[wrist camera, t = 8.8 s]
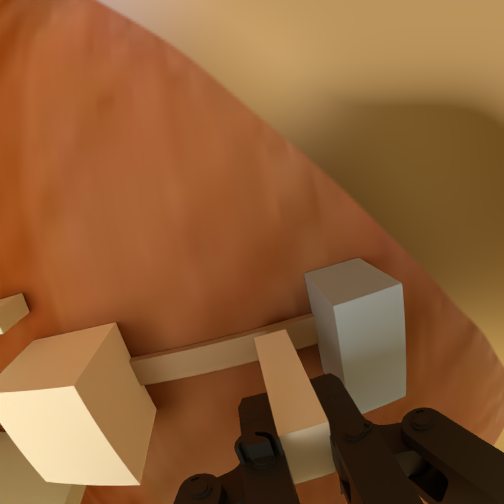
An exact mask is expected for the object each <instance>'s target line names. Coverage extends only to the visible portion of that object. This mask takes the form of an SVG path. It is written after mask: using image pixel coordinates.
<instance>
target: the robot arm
mask: <svg viewBox="0 0 504 504" xmlns="http://www.w3.org/2000/svg"><path fill="white" fill-rule="evenodd" d="M254 340H255V345H256V349H257V353H258V357H259V361H260V365H261V369H262V373H263V378H264V382H265V386H266V390H267V392H266V393H262V394H259V395H254V396H250V397H246V398H243V399H242V401H241V403H240V405H239V407H238V409H239V417H240V425H241V426H240V427H241V436H240V437H239V438H238V440H237V441H236V442H235V447H234V449H235V452H236V454H237V456H238V458H239V460H240V464H239V465H238V466H237V467H236V468H235V469H234V470H232V471H230V472H228V473H226V474H224V475H222V476H219V477H215V476H214V475H211V474H206V473H204V474H196V475H194V476H191V477H189V478H188V479H186V480H185V481H184V482H183V483H182V485H181V486H180V488H179V491H178V493H177V496H176V498H175V501H174V504H300V503H299V499H298V496H297V492H296V489H295V486H294V484H297V483H301V482H305V481H308V480H312V479H315V478H318V477H322V476H325V475H328V474H331V473H334V472H336V470H337V472H338V474H339V479H340V488H341V494H344V495H345V497H346V500H347V502H348V504H423V502H422V500H421V499H420V497H421V498H423V499H424V500H425V501H426V502H427V503H428V504H504V453H503V452H502V451H500V450H499V449H497V448H495V447H494V446H492V445H490V444H489V443H487V442H486V441H484V440H482V439H481V438H479V437H478V436H476V435H474V434H473V433H471V432H470V431H468V430H466V429H465V428H463V427H462V426H460V425H458V424H457V423H455V422H454V421H452V420H451V419H449V418H447V417H446V416H444V415H443V414H441V413H440V412H438V411H436V410H434V409H431V408H418V409H414V410H412V411H410V412H408V413H407V414H406V415H405V416H404V417H403V420H402V422H401V423H396V424H390V425H376V424H373V423H372V422H371V421H369V420H366V419H365V418H364V417H363V416H362V414H361V412H360V411H359V409H358V407H357V406H356V404H355V403H354V401H353V399H352V398H351V396H350V394H349V393H348V391H347V390H346V388H345V387H344V385H343V383H342V381H341V380H340V378H338V377H337V376H335V375H333V374H331V373H329V374H325V375H322V376H319V377H316V378H313V379H310V380H309V378H308V376H307V374H306V372H305V370H304V368H303V366H302V363H301V361H300V359H299V357H298V355H297V353H296V350H295V348H294V346H293V344H292V342H291V340H290V338H289V335H288V333H287V331H286V329H284V330H280V331H277V332H273V333H269V334H266V335H262V336H258V337H254ZM335 467H336V469H335ZM419 496H420V497H419Z"/></svg>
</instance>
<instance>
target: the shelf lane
mask: <svg viewBox="0 0 504 504" xmlns="http://www.w3.org/2000/svg"><path fill="white" fill-rule="evenodd" d="M28 313H30V312H29V309H28V307H27V304H26V301H25V299H24V296H23V294H22V293H20V294H17V295H14V296H10V297H7V298H4V299H0V334H3V333H5V332H6V331H7V330H8V329H9V328H11V327H12V326H13V325H14V324H16V323H17V322H18V321H19V320H21V319H22V318H23V317H24V316H26V315H27V314H28ZM85 488H86V485H79V484H64V483H53V482H46V481H45V480H44V479H43V478H42V476H41V475H40V474H39V473H38V472H37V471H36V469H35V468H34V467H33V466H32V465H31V463H30V462H29V461H28V460H27V459H26V457H25V456H24V455H23V453H22V452H21V451H20V450H19V448H18V447H17V446H16V444H15V443H14V442H13V440H12V439H11V438H10V436H9V435H8V433H7V432H0V504H80V503H81V500H82V497H83V494H84V491H85Z"/></svg>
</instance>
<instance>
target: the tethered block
mask: <svg viewBox="0 0 504 504" xmlns="http://www.w3.org/2000/svg"><path fill="white" fill-rule="evenodd" d="M304 277H305V282H306V286H307V291H308V296H309V301H310V306H311V311H312V313H309V314H306V315H302V316H299V317H295V318H292V319H288V320H285V321H281V322H278V323H274V324H271V325H267V326H263V327H260V328H256V329H252V330H249V331H245V332H241V333H237V334H233V335H229V336H225V337H221V338H217V339H213V340H209V341H205V342H201V343H197V344H192V345H188V346H184V347H179V348H175V349H170V350H165V351H161V352H156V353H151V354H146V355H142V356H137V357H132V358H131V356H130V354H129V352H128V350H127V347H126V345H125V343H124V340H123V338H122V336H121V333H120V331H119V329H118V326H117V324H116V322H114V323H110V324H105V325H101V326H97V327H92V328H88V329H83V330H79V331H74V332H70V333H65V334H60V335H56V336H51V337H46V338H42V339H37V340H33V341H32V342H31V343H30V344H29V345H28V346H27V347H26V348H25V349H24V350H23V351H22V352H21V353H20V354H19V355H18V356H17V357H16V358H15V359H14V360H13V361H12V362H11V363H10V364H9V365H8V366H7V367H6V368H5V369H4V371H3V372H2V373H1V374H0V423H1V425H2V426H3V428H4V429H5V431H6V432H7V433H8V435H9V436H10V438H11V439H12V440H13V442H14V443H15V444H16V446H17V447H18V448H19V450H20V451H21V452H22V453H23V455H24V456H25V457H26V459H27V460H28V461H29V462H30V463H31V465H32V466H33V467H34V468H35V469H36V471H37V472H38V473H39V474H40V475H41V476H42V478H43V479H44V480H45V481H46V482H53V483H64V484H79V485H141V480H142V475H143V470H144V465H145V460H146V455H147V451H148V446H149V441H150V437H151V432H152V428H153V424H154V419H155V415H156V411H157V409H156V407H155V405H154V404H153V402H152V400H151V398H150V396H149V394H148V392H147V390H146V388H145V386H144V385H148V384H154V383H159V382H165V381H170V380H175V379H180V378H185V377H190V376H195V375H199V374H204V373H208V372H213V371H217V370H221V369H226V368H230V367H234V366H238V365H242V364H246V363H250V362H254V361H258V360H259V357H258V353H257V349H256V345H255V340H254V337H258V336H262V335H266V334H269V333H273V332H277V331H280V330H284V329H286V331H287V333H288V335H289V338H290V340H291V342H292V344H293V346H294V348H295V350H297V349H300V348H304V347H307V346H310V345H314V344H317V343H318V347H319V352H320V358H321V363H322V369H323V372H324V373H325V374H329V373H331V374H333V375H335V376H337V377H338V378H340V380H341V381H342V383H343V385H344V387H345V388H346V390H347V391H348V393H349V394H350V396H351V398H352V399H353V401H354V403H355V404H356V406H357V407H358V409H359V411H360V412H361V414H364V413H366V412H369V411H371V410H374V409H377V408H379V407H381V406H384V405H386V404H389V403H391V402H393V401H396V400H398V399H400V398H403V397H405V396H406V336H405V315H404V300H403V288H402V283H401V282H399V281H398V280H396V279H394V278H393V277H391V276H389V275H388V274H386V273H384V272H382V271H381V270H379V269H377V268H376V267H374V266H372V265H370V264H369V263H367V262H365V261H363V260H362V259H360V258H355V259H352V260H348V261H345V262H342V263H338V264H335V265H331V266H328V267H325V268H321V269H318V270H314V271H311V272H307V273H304Z"/></svg>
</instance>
